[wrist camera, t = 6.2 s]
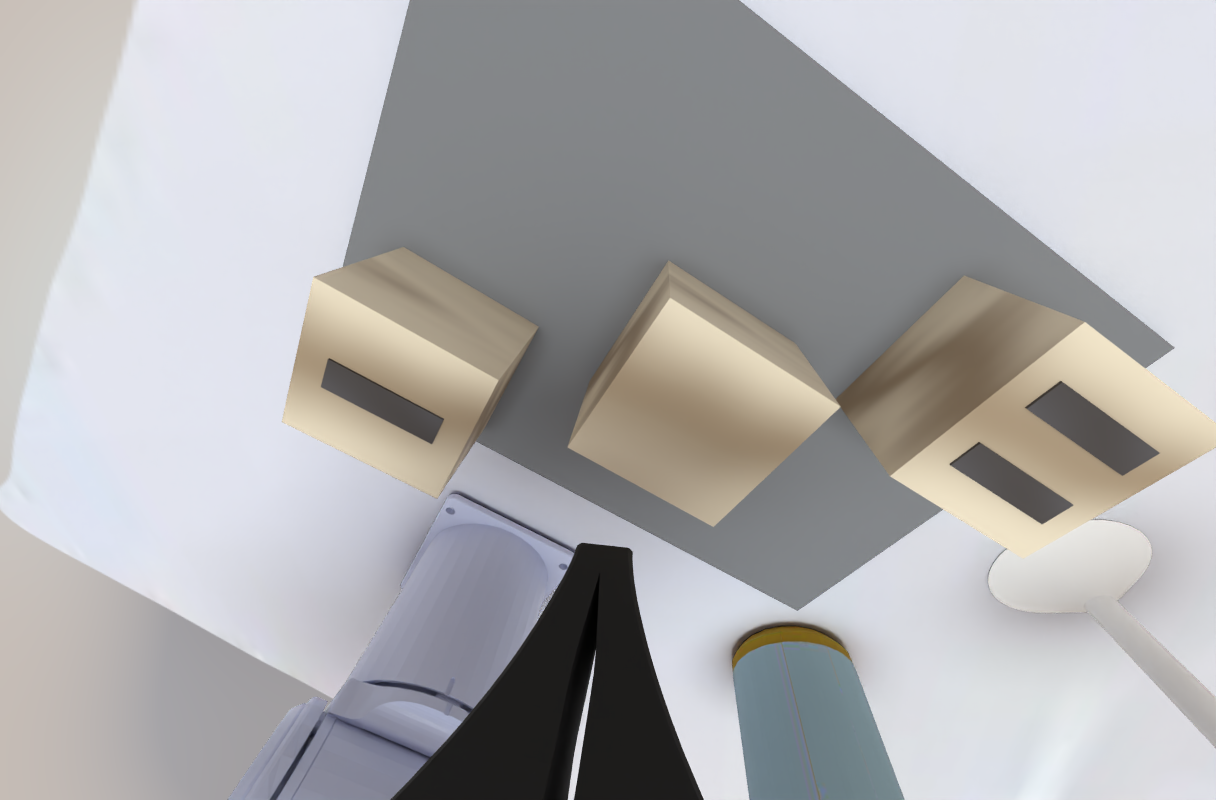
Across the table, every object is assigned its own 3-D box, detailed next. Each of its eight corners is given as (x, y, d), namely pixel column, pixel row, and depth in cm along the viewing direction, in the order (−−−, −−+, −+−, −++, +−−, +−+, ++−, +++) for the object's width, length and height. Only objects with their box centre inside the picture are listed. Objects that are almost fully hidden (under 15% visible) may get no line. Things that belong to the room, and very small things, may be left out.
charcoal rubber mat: (795, 604, 25) (797, 610, 24) (325, 355, 20) (319, 358, 20) (1163, 343, 16) (1174, 348, 15) (471, -207, 11) (464, -219, 11)
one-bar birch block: (484, 427, 21) (435, 500, 16) (366, 364, 20) (280, 422, 15) (539, 326, 18) (498, 381, 13) (403, 246, 17) (311, 277, 12)
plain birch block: (702, 446, 20) (713, 527, 15) (589, 381, 19) (567, 447, 14) (795, 343, 17) (840, 406, 13) (668, 260, 16) (670, 297, 12)
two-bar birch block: (940, 467, 19) (1025, 560, 14) (835, 399, 18) (891, 477, 14) (1080, 362, 16) (1237, 438, 12) (964, 275, 15) (1087, 322, 11)
